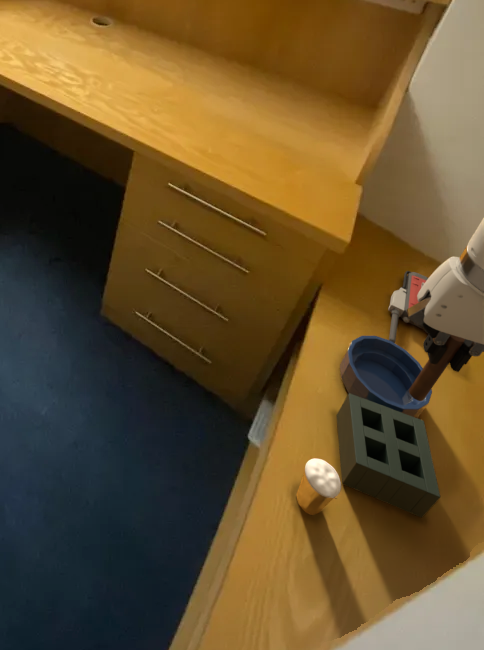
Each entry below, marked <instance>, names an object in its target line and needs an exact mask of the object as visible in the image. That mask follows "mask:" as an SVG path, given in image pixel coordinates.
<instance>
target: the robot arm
mask: <svg viewBox="0 0 484 650" xmlns="http://www.w3.org/2000/svg"><path fill="white" fill-rule="evenodd" d="M417 299H418V302H419V303H417V304H415V305H413V306H412V307H410V308H408V309H407V313H408V318H409V319H410V320H411V321H413V322H415V323H417V324H418V325H420V326H423V327H424V329H425V330H426V331H427V333H426V334H427V336H426V337H425V339H424V341H423V342H422V343H423V344H422V345H423V346H422V347H423V351H424V353H427V357H428V360H429V361H430V363H432V364H438V362H439V361H440V359H441V358H442V356H443V355H444V353H445V352H446V350H447V347H446V344H445V343H446V341H447V340H448V338H449V337H450V335H454V336H457V337H461V338H464V339H465V341H464V343H463V344H462V346H461V347H460V349H459V350H458V351H457V353H456V354H455V356H454V357H453V359H452V360H451V361H450V363H449V365H450V369H451V370H452V371H453V372H457V373H459V372H460V371H461V369H462V368H463V367H464V366H467V364H468V363H469V361H470V360H471V359H472V357H480V356H481V355H482V354H483V353H484V217H483V218H482V219H481V221H480V223H479V225H478V226H477V228H476V229H475V231H474V232H473V234H472V236H471V237H470V239H469V241H468V243H467V244H466V246H465V247H464V250H463V251H462V253H461V254H460V256H451V257H449V258H447V259H446V260H445V261H444V262H442V263H441V264H440V265H439V266H437V268H436V269H434V271H433V272H432V274H430V276H429V277H428V280H427V281H426V282H425V284H424V285H423V286H422V288H421V289H420V291H419V293H418V295H417Z"/></svg>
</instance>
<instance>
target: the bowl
mask: <svg viewBox="0 0 484 650" xmlns="http://www.w3.org/2000/svg"><path fill="white" fill-rule="evenodd" d="M423 368H424V367H423V366H422V365H421V363H420V362H419V361H418V360H417V359H416V358H415V357H414V356H413V355H412V354H411V353H410V352H409V351H408V350H406V349H405V348H403V347H402V346H400V345H398V344H397V343H396V342H395V343H393V342H392V341H390V340H389V339H387V338H383V337H381V336H379V335H378V336H377V335H360V336H359V337H357V338H355V339H353V340H351V342H350V343H349V346H348V348H347V350H346V351H345V353H344V355H343V357H342V360H341V362H340V364H339V370H340V379H341V381H342V383H343V385H344V387H345V389H346V391H347V393H348V394H349V393H350V394H353V395H355V396H358V397H361V398H364V399H366V400H369V401H372V402H375V403H377V404H380V405H383V406H385V407H388V408H391V409H393V410H396V411H399V412H401V413H404V414H407V415H409V416H412V417H415V418H418V419H419V418H420V416H421V414H422V413H423V412H424V410H425V409H426V408H427V407H428V405H429V403H430V401H431V397H432V394H433V389H432V388H431V390H430V391H429V393H428V394H427V396H426V397H425V398H424V400H423V401H418V400H416V399H414V398H413V397H412V396H411V395H410V393H409V389H410V387H411V386H412V384H413V383H414V381H415V380H416V378H417V377H418V375H419V374H420V372H421V371H422V369H423Z"/></svg>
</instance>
